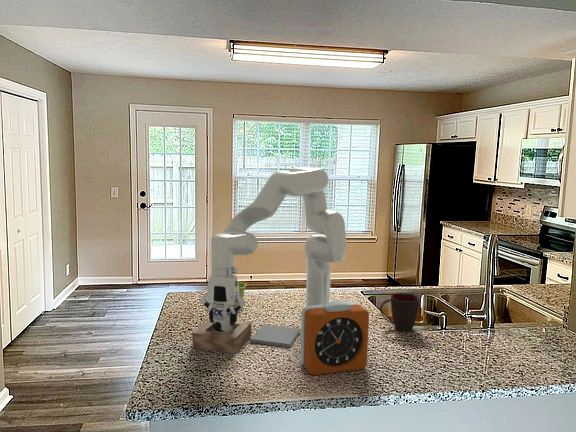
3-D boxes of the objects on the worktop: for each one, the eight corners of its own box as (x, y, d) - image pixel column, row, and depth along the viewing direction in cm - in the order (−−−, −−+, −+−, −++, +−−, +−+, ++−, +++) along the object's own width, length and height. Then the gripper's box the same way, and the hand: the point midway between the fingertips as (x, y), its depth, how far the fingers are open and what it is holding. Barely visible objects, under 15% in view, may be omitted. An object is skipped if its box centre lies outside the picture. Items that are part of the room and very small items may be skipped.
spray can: (208, 342, 152) (208, 285, 149) (221, 335, 158) (220, 280, 155) (225, 347, 149) (225, 288, 146) (236, 339, 155) (236, 283, 152)
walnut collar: (251, 335, 158) (251, 321, 158) (235, 353, 144) (235, 338, 143) (211, 330, 162) (211, 317, 162) (192, 347, 148) (192, 332, 147)
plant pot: (220, 307, 187) (219, 287, 186) (229, 300, 196) (229, 281, 195) (240, 309, 184) (240, 289, 183) (249, 302, 193) (249, 283, 192)
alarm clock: (309, 377, 130) (310, 308, 127) (299, 363, 138) (301, 298, 135) (367, 369, 135) (370, 303, 132) (355, 356, 143) (357, 294, 140)
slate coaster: (299, 331, 163) (300, 328, 162) (289, 347, 149) (289, 344, 149) (262, 327, 166) (263, 324, 166) (249, 342, 153) (250, 338, 153)
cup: (420, 334, 162) (422, 302, 161) (381, 333, 163) (383, 301, 161) (413, 324, 172) (415, 293, 170) (376, 323, 172) (378, 292, 171)
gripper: (251, 270, 151) (251, 321, 154) (203, 266, 156) (204, 316, 158) (243, 276, 144) (243, 329, 147) (193, 271, 149) (194, 323, 151)
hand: (222, 322), depth 152 cm, fingers closed on spray can, 6 cm apart
